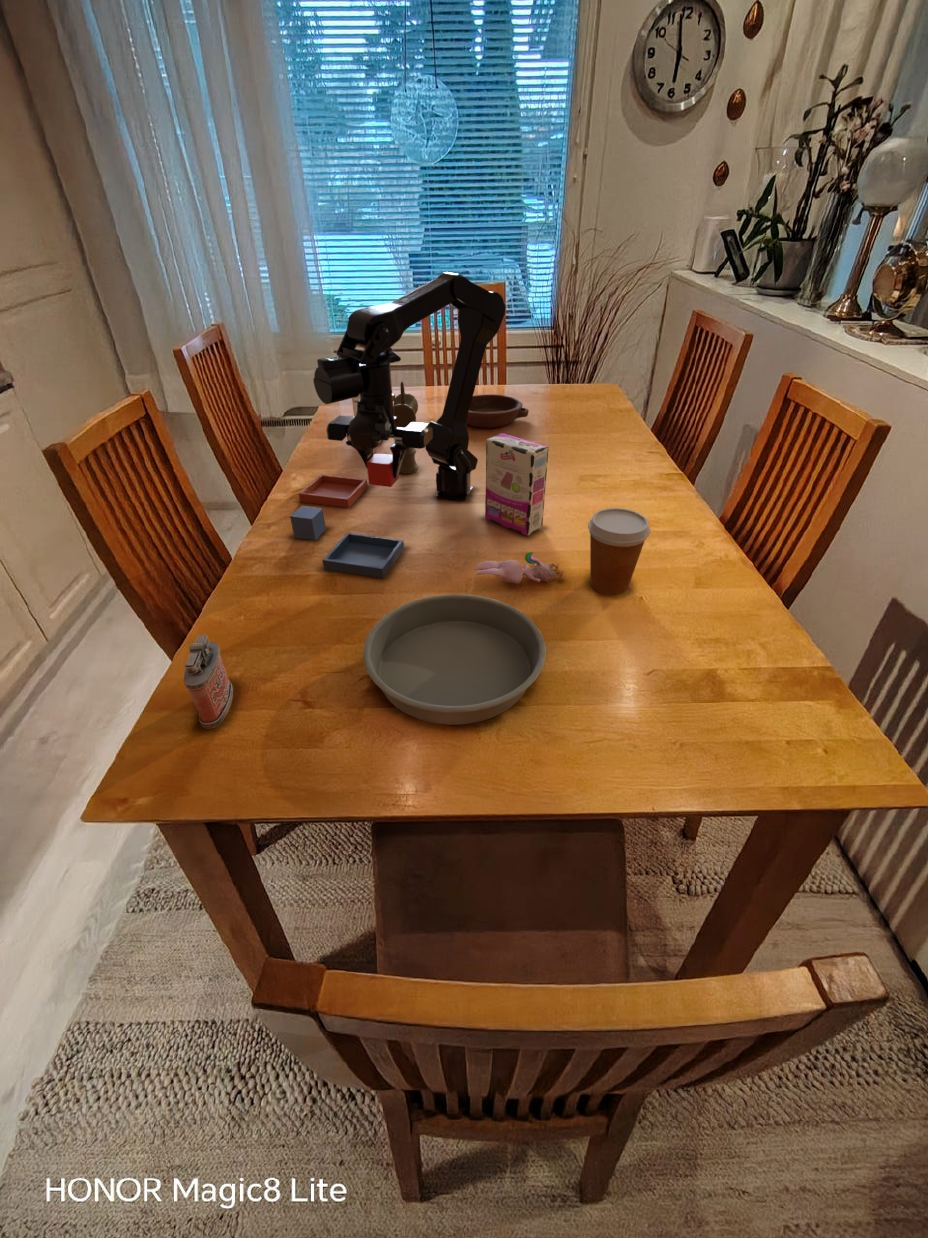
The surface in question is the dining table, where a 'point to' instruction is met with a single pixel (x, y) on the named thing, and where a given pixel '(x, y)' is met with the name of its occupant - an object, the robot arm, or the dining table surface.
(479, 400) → the dish
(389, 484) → the red block
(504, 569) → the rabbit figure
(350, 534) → the blue tray
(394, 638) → the cake pan
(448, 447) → the robot arm
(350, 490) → the red tray
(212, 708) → the lighter
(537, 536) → the dining table surface
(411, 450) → the kendama
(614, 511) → the disposable coffee cup
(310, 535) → the blue block
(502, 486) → the candy bar box
